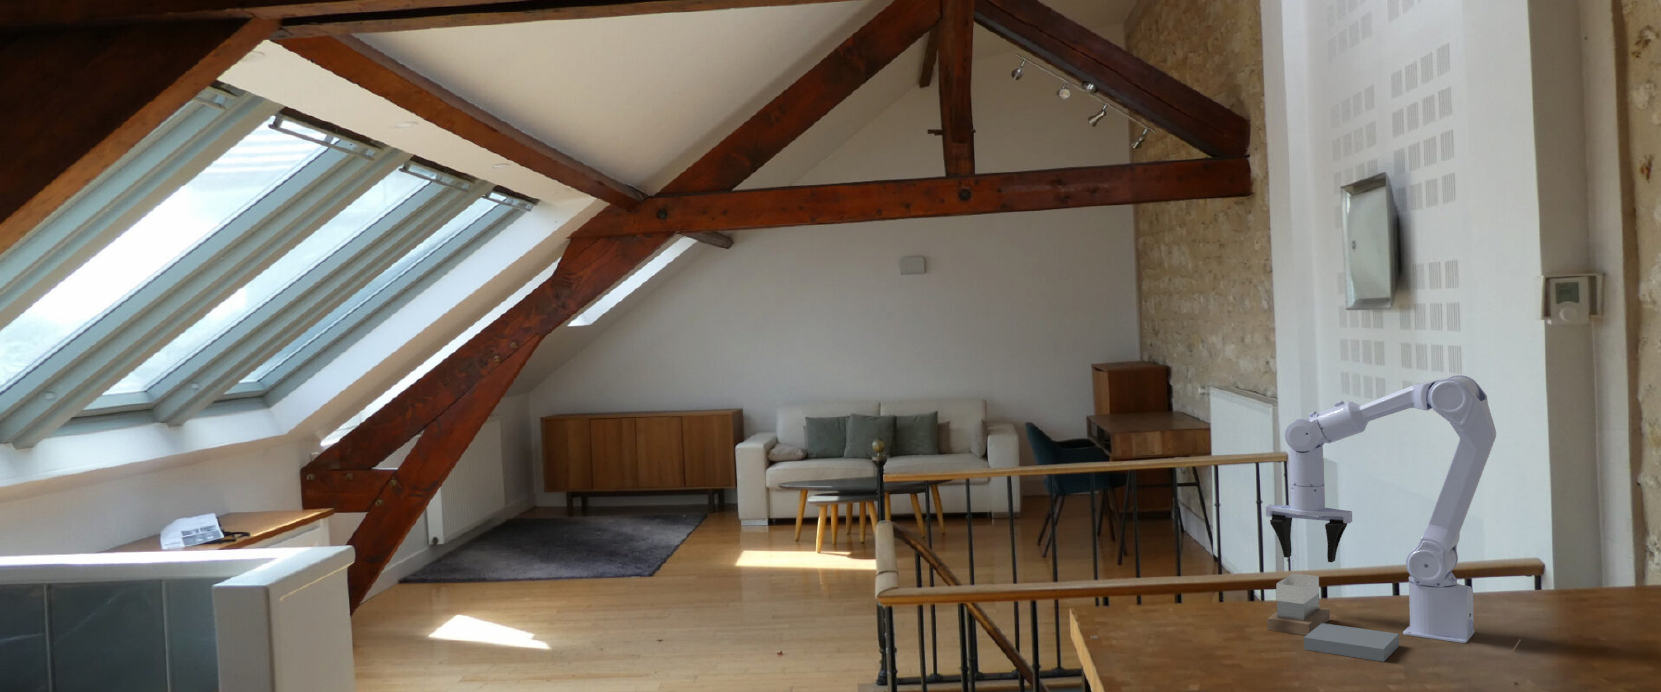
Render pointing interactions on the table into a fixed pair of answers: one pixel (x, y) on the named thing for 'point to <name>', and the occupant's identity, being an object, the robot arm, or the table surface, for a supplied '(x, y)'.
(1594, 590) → the table surface
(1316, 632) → the stand
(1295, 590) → the block
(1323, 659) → the table surface
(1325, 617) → the stand
